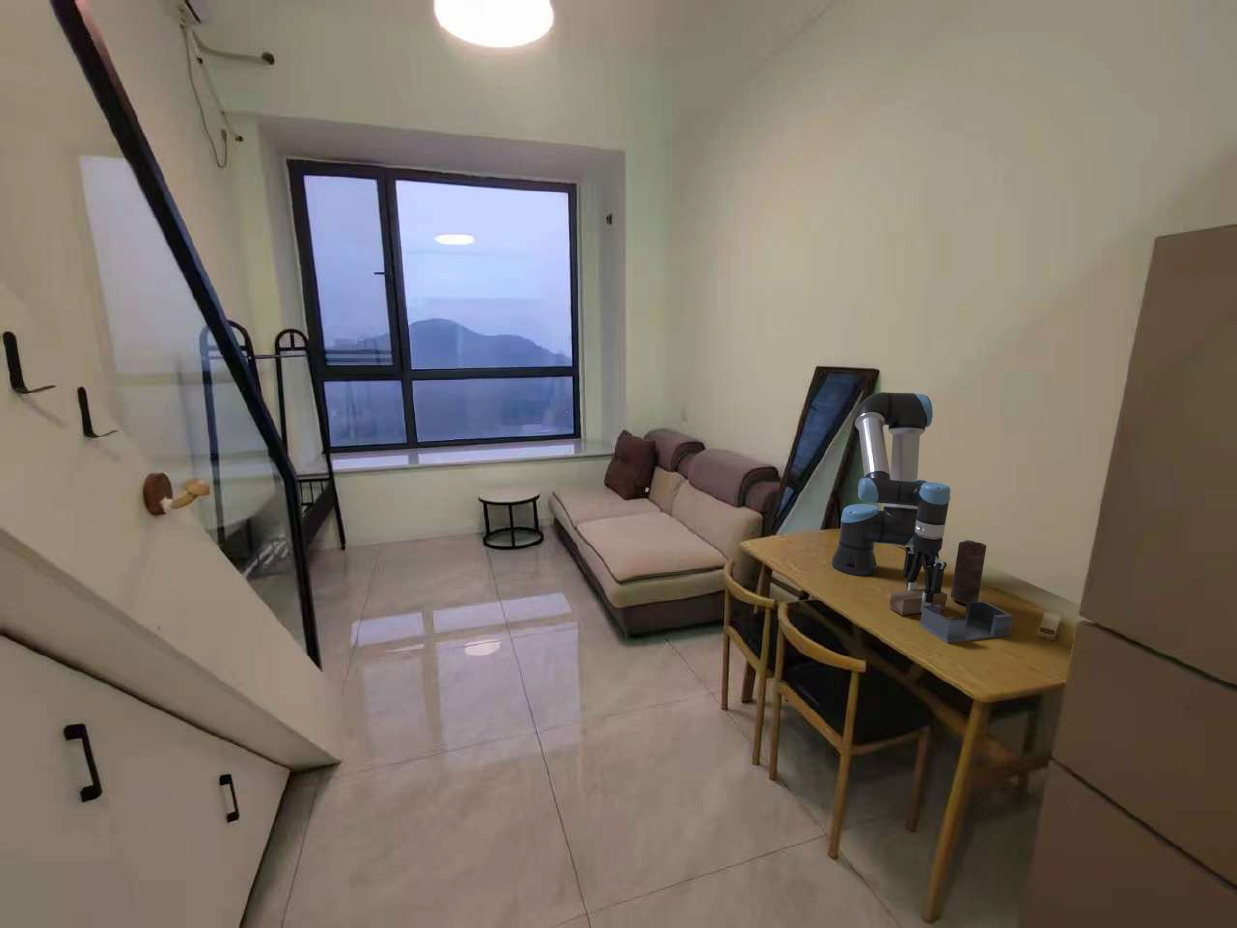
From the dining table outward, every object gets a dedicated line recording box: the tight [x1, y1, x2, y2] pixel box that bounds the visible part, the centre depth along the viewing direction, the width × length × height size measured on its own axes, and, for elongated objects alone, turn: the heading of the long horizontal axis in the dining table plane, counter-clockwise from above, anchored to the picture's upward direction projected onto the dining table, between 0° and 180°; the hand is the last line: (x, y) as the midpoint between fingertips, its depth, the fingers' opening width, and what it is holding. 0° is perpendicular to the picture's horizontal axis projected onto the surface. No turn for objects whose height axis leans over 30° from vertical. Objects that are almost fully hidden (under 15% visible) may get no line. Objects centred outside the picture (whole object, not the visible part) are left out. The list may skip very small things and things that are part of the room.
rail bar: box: [888, 588, 948, 616], centre depth 162 cm, size 5×16×5 cm, turn 105°
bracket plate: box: [918, 599, 1014, 644], centre depth 150 cm, size 10×21×6 cm, turn 103°
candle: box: [950, 539, 987, 605], centre depth 166 cm, size 8×7×20 cm
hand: (917, 606), depth 162 cm, fingers closed on rail bar, 5 cm apart
